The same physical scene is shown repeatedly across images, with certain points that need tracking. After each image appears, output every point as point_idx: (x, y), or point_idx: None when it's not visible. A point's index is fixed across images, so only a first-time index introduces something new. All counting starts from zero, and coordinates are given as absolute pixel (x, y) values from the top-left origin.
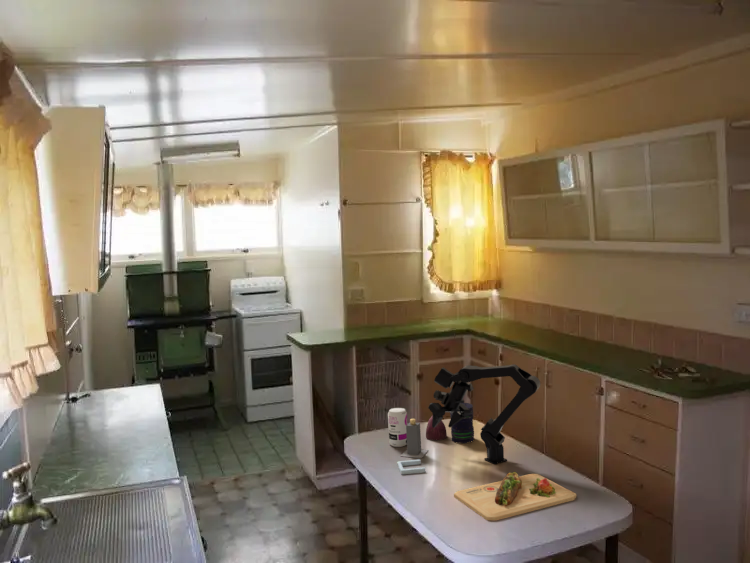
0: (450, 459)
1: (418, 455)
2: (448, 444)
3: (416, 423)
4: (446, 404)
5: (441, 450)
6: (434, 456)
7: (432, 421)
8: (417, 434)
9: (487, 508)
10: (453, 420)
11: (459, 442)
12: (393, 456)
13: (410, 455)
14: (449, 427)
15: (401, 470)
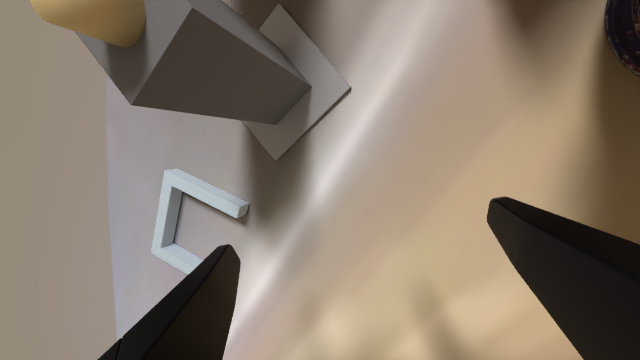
0: (371, 252)
1: (276, 129)
2: (525, 45)
3: (157, 6)
4: None
5: (413, 121)
6: (333, 175)
7: (167, 295)
8: (208, 105)
9: None
10: (602, 330)
11: (624, 58)
12: None
13: None
14: (487, 218)
15: (152, 251)
